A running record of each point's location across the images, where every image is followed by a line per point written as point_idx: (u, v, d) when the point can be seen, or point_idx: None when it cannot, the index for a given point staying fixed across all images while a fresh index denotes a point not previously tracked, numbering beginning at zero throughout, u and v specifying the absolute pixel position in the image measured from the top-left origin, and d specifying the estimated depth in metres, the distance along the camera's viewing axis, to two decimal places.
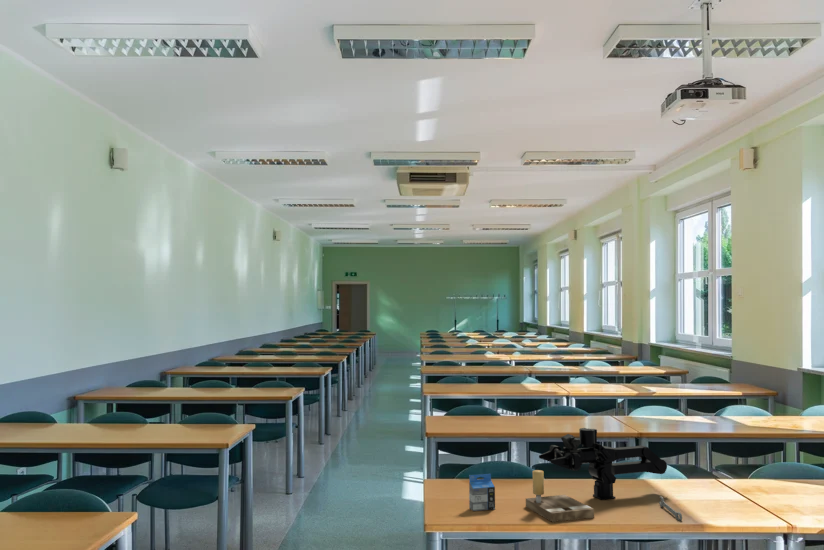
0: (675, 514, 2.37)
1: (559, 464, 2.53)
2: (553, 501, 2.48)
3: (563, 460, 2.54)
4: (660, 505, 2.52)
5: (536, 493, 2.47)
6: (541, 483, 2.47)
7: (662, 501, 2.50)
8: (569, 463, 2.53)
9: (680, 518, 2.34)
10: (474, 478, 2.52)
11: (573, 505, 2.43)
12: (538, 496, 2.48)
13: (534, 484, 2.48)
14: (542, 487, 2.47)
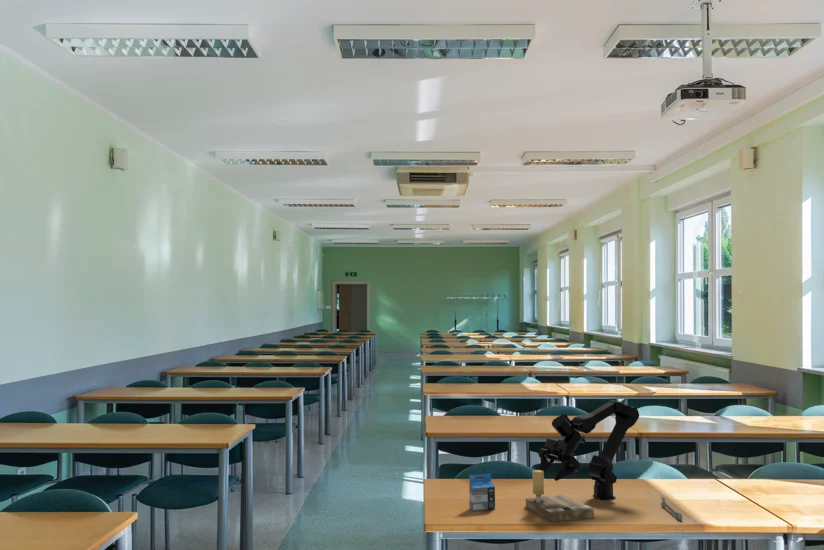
0: (675, 514, 2.37)
1: (563, 476, 2.47)
2: (553, 501, 2.48)
3: (563, 470, 2.48)
4: (662, 505, 2.52)
5: (536, 493, 2.47)
6: (541, 483, 2.47)
7: (663, 501, 2.50)
8: (570, 468, 2.47)
9: (680, 518, 2.34)
10: (474, 478, 2.52)
11: (573, 505, 2.43)
12: (538, 496, 2.48)
13: (534, 484, 2.48)
14: (542, 487, 2.47)
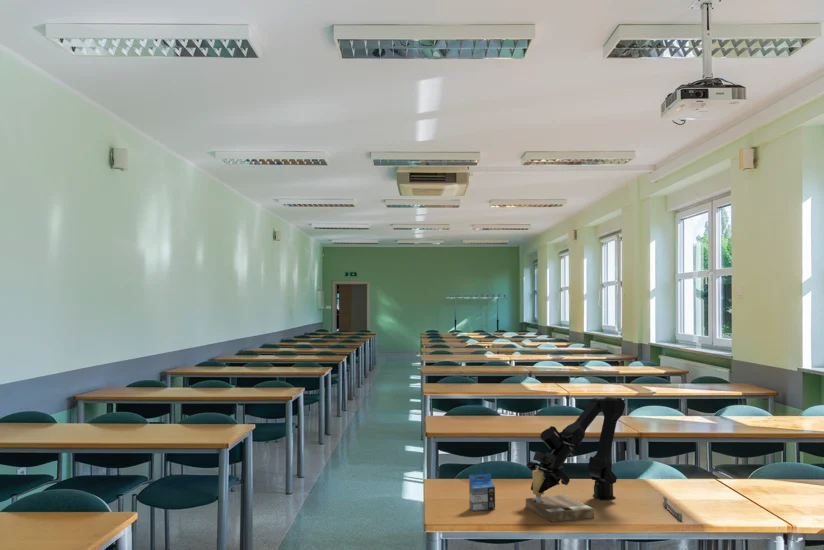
0: (676, 514, 2.37)
1: (547, 488, 2.47)
2: (553, 501, 2.48)
3: (548, 482, 2.47)
4: (663, 505, 2.52)
5: (536, 493, 2.47)
6: (541, 483, 2.47)
7: (665, 501, 2.50)
8: (554, 480, 2.47)
9: (680, 518, 2.34)
10: (474, 478, 2.52)
11: (573, 505, 2.43)
12: (538, 496, 2.48)
13: (534, 484, 2.48)
14: None
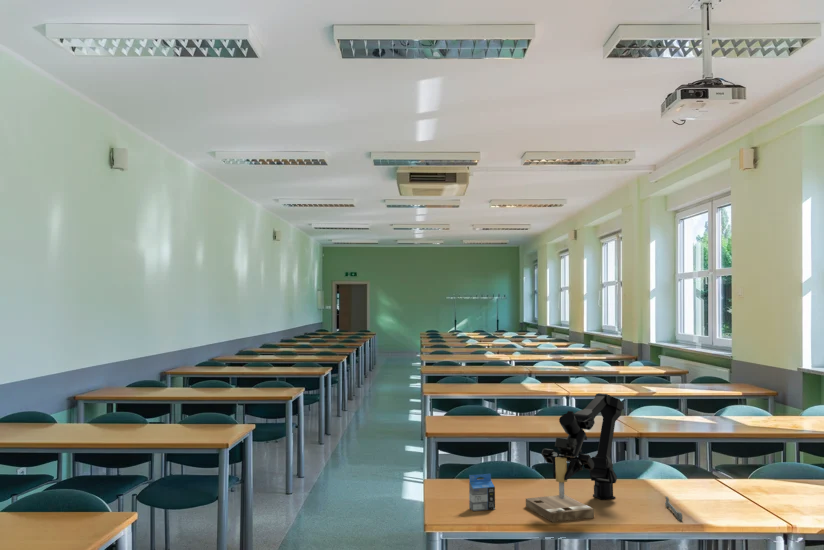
0: (676, 514, 2.37)
1: (571, 474, 2.40)
2: (553, 501, 2.48)
3: (572, 468, 2.40)
4: None
5: (561, 481, 2.39)
6: (566, 470, 2.39)
7: (667, 501, 2.50)
8: (578, 466, 2.40)
9: (680, 518, 2.34)
10: (474, 478, 2.52)
11: (573, 505, 2.43)
12: (562, 484, 2.40)
13: (559, 471, 2.39)
14: None
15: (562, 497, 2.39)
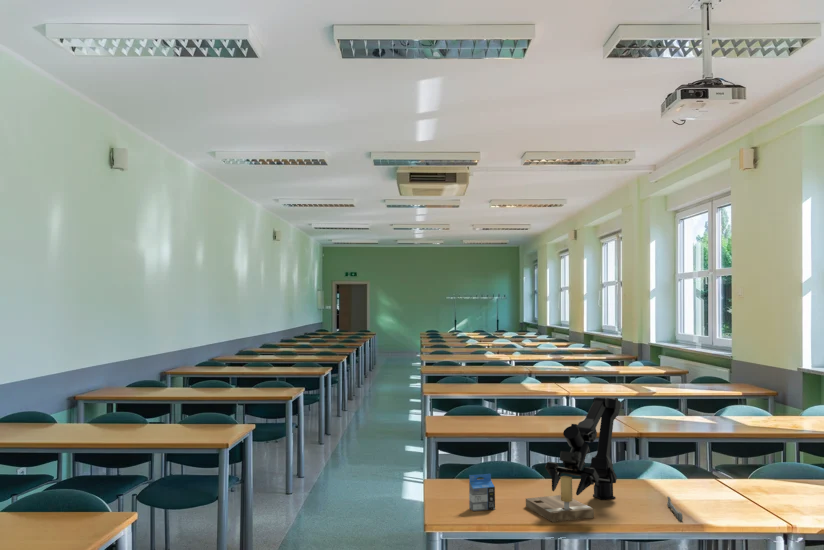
0: (677, 514, 2.37)
1: (583, 489, 2.37)
2: (553, 501, 2.48)
3: (583, 483, 2.37)
4: None
5: (567, 500, 2.37)
6: (571, 489, 2.38)
7: (669, 501, 2.50)
8: (589, 481, 2.38)
9: (680, 518, 2.34)
10: (474, 478, 2.52)
11: (573, 505, 2.43)
12: (567, 503, 2.38)
13: (564, 491, 2.38)
14: (571, 493, 2.38)
15: None
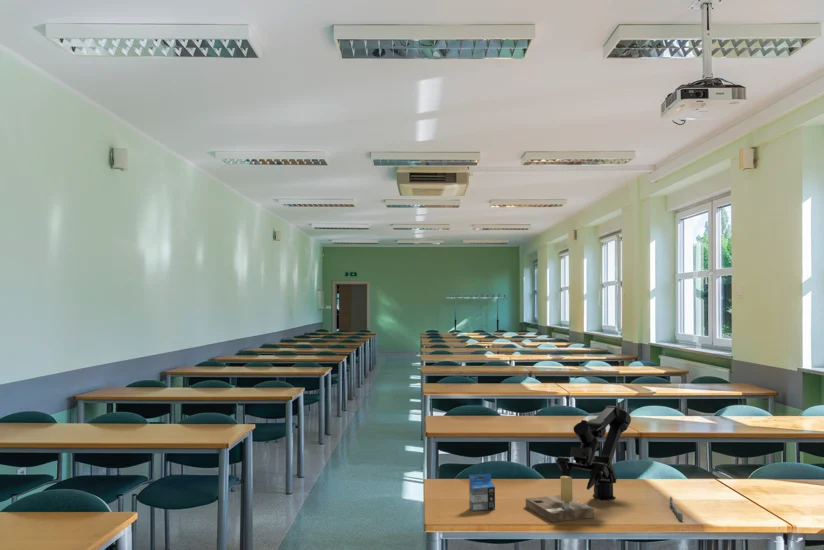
0: (677, 514, 2.37)
1: (593, 484, 2.44)
2: (553, 501, 2.48)
3: (594, 478, 2.44)
4: None
5: (567, 500, 2.37)
6: (571, 489, 2.38)
7: (670, 501, 2.50)
8: (599, 475, 2.45)
9: (680, 518, 2.34)
10: (474, 478, 2.52)
11: (573, 505, 2.43)
12: (567, 503, 2.38)
13: (564, 491, 2.38)
14: None
15: None
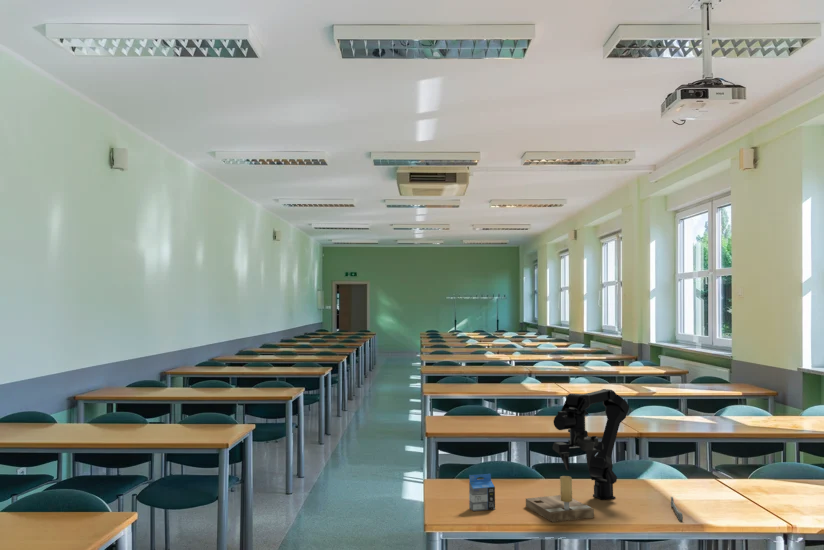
0: (677, 514, 2.37)
1: None
2: (553, 501, 2.48)
3: None
4: (671, 505, 2.51)
5: (566, 500, 2.37)
6: (571, 489, 2.38)
7: (671, 501, 2.50)
8: None
9: (680, 518, 2.34)
10: (474, 478, 2.52)
11: (573, 505, 2.43)
12: (567, 503, 2.38)
13: (564, 491, 2.38)
14: (571, 493, 2.38)
15: None
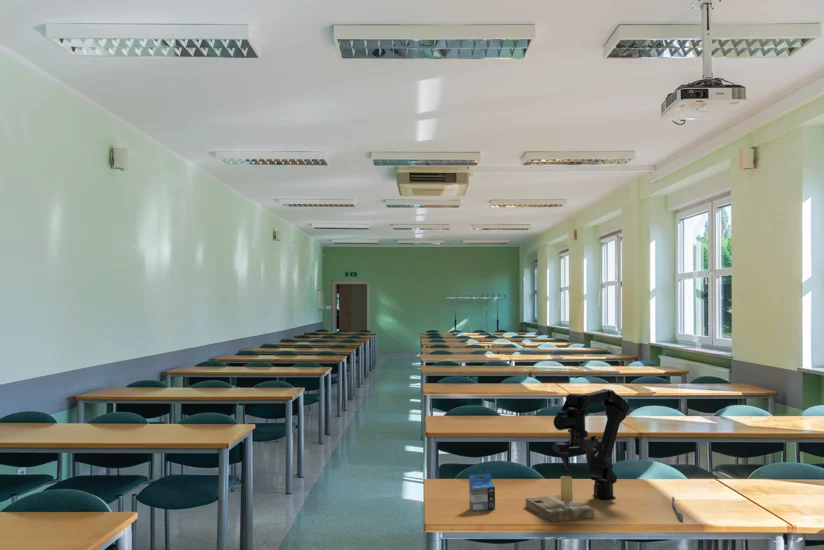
0: (678, 514, 2.37)
1: None
2: (553, 501, 2.48)
3: None
4: (672, 505, 2.51)
5: (567, 500, 2.37)
6: (571, 489, 2.38)
7: (672, 501, 2.49)
8: None
9: (681, 518, 2.34)
10: (474, 478, 2.52)
11: (573, 505, 2.43)
12: (567, 503, 2.38)
13: (564, 491, 2.38)
14: None
15: None
